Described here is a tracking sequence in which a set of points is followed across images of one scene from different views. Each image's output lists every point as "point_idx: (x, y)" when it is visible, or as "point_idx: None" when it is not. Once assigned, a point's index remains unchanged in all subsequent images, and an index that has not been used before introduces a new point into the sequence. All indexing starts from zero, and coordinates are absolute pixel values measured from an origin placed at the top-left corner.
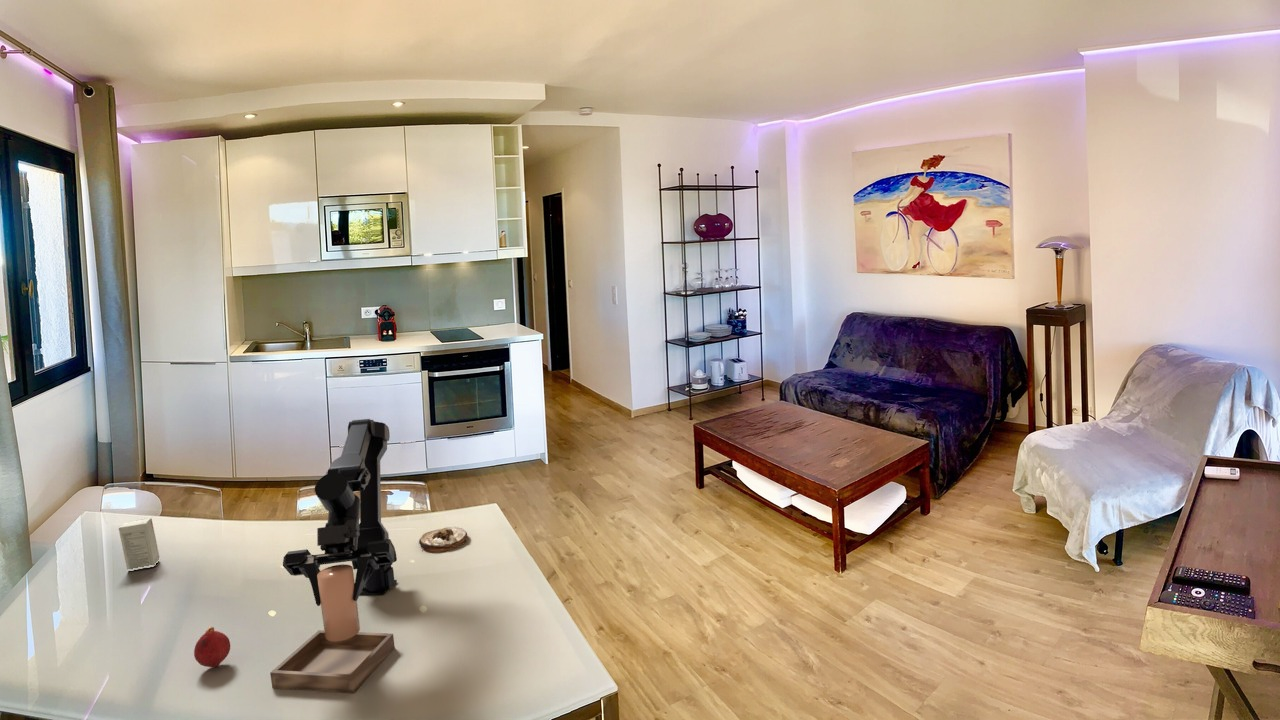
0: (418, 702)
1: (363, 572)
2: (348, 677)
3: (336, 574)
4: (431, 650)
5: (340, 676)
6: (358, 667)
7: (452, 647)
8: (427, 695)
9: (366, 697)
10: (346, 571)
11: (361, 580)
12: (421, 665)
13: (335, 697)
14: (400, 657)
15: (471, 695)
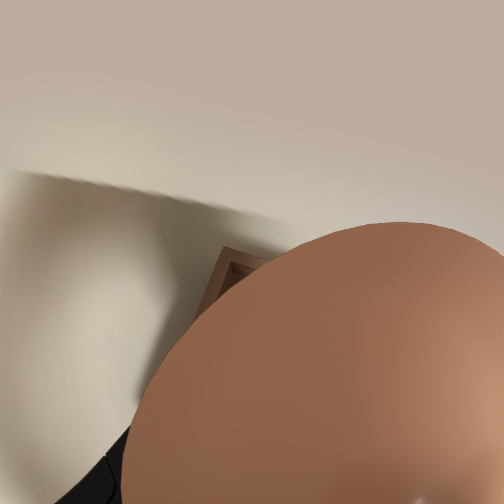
0: (98, 201)
1: (62, 500)
2: (233, 249)
3: (381, 394)
4: (73, 388)
5: (256, 257)
6: (215, 290)
7: (37, 379)
8: (82, 218)
9: (195, 239)
10: (212, 482)
11: (107, 455)
12: (88, 331)
13: (266, 255)
14: (138, 386)
15: (29, 204)
